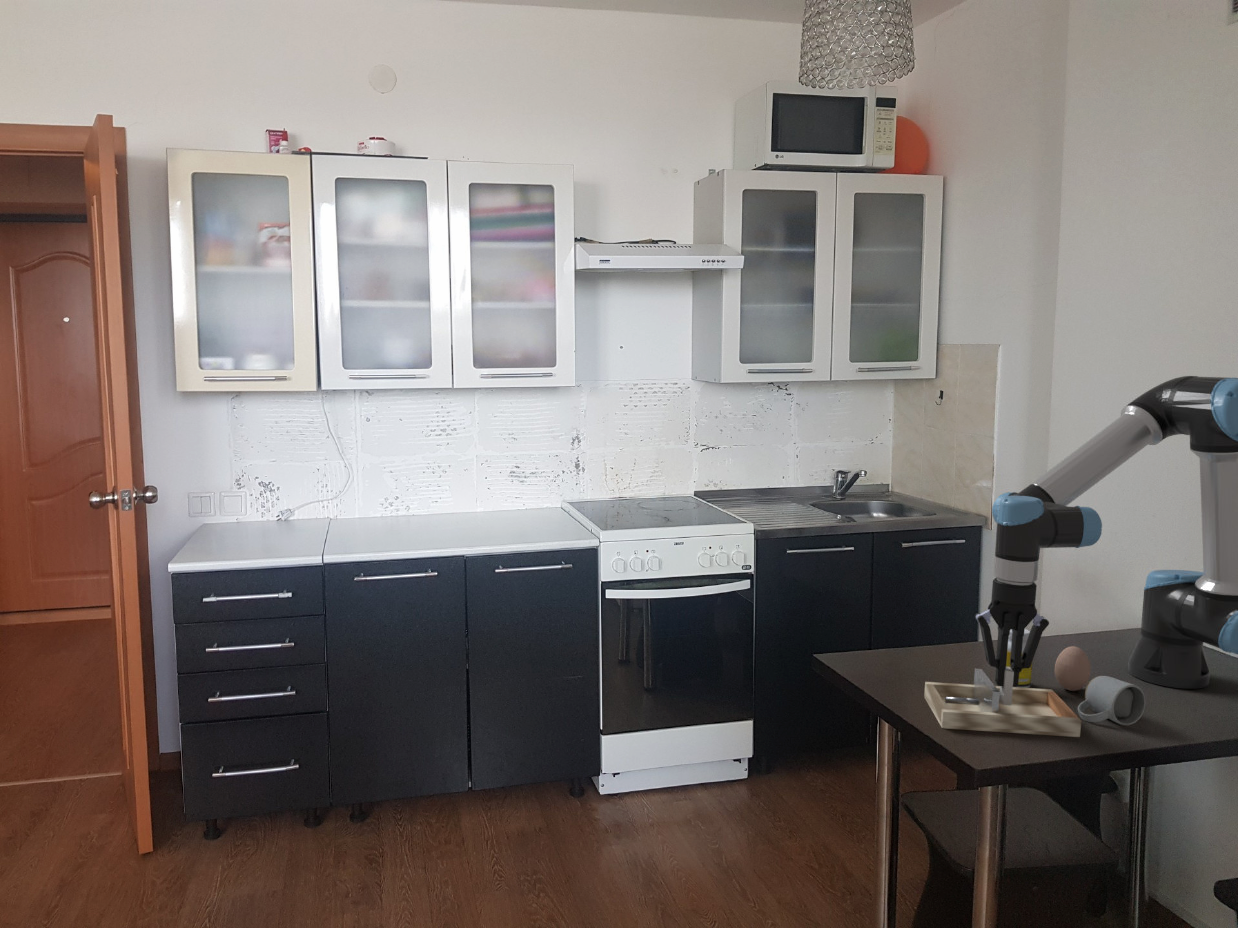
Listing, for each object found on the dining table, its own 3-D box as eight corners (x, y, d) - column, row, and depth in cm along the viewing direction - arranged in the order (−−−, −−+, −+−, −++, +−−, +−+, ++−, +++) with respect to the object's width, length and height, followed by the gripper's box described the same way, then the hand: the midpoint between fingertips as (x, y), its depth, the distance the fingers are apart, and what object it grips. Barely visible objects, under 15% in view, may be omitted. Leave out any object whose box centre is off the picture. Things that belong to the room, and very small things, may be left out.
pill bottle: (1033, 691, 193) (1038, 636, 192) (999, 688, 194) (1004, 633, 193) (1026, 680, 200) (1031, 626, 198) (993, 677, 201) (998, 624, 199)
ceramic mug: (1110, 707, 186) (1113, 669, 185) (1144, 723, 178) (1148, 683, 177) (1066, 713, 183) (1068, 674, 182) (1099, 730, 175) (1102, 689, 174)
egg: (1073, 697, 191) (1077, 653, 189) (1045, 686, 196) (1049, 643, 195) (1096, 693, 193) (1100, 649, 192) (1068, 682, 199) (1072, 640, 198)
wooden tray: (1050, 704, 186) (1051, 689, 186) (1079, 736, 171) (1081, 720, 171) (924, 696, 189) (925, 681, 188) (942, 727, 174) (943, 711, 173)
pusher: (979, 698, 186) (981, 668, 185) (997, 723, 174) (999, 691, 173) (937, 695, 187) (940, 666, 186) (953, 720, 175) (955, 689, 174)
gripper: (1044, 576, 180) (1034, 697, 183) (973, 573, 181) (964, 692, 184) (1058, 586, 172) (1047, 712, 175) (983, 583, 174) (974, 707, 177)
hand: (1005, 702), depth 180 cm, fingers closed
